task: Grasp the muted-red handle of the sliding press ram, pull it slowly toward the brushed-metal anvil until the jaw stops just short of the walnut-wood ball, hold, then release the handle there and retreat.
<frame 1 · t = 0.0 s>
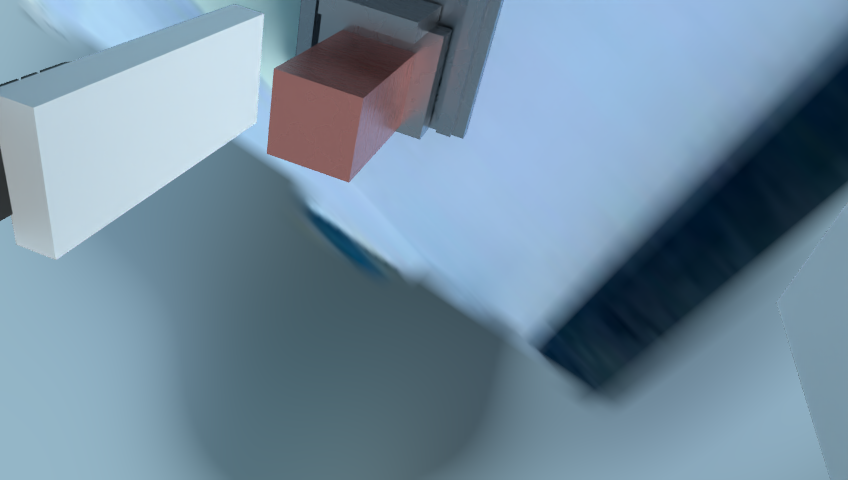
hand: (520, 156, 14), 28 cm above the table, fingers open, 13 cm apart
ram: (354, 78, 37), point 7 cm above the table, slide at 0.0 cm
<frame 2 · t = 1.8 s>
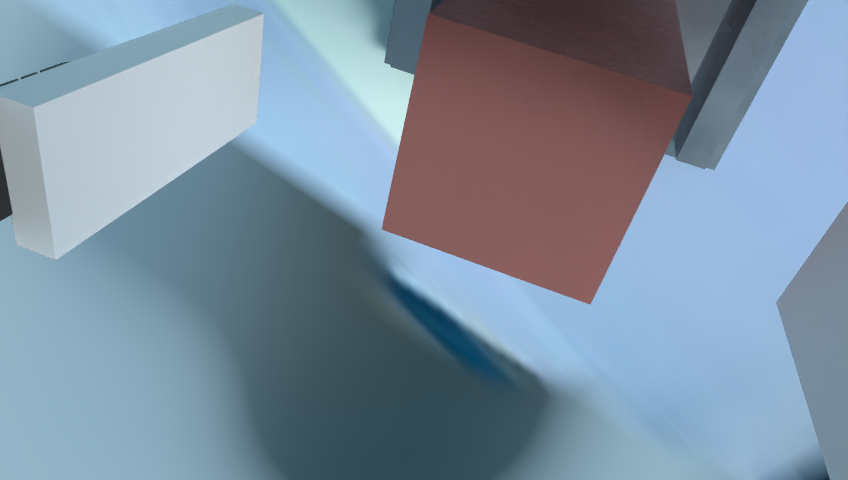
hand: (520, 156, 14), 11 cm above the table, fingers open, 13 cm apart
ram: (563, 49, 17), point 7 cm above the table, slide at 0.0 cm
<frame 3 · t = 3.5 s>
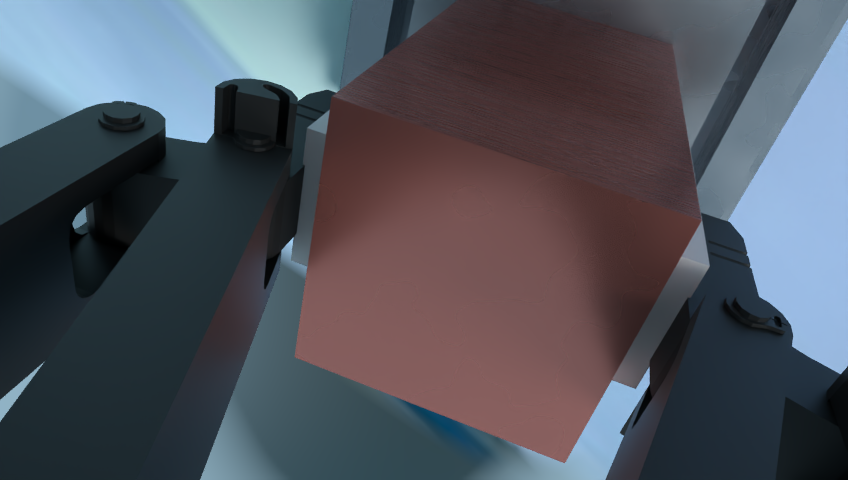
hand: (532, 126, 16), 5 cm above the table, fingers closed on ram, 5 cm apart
ram: (535, 113, 13), point 7 cm above the table, slide at 0.0 cm, touching gripper
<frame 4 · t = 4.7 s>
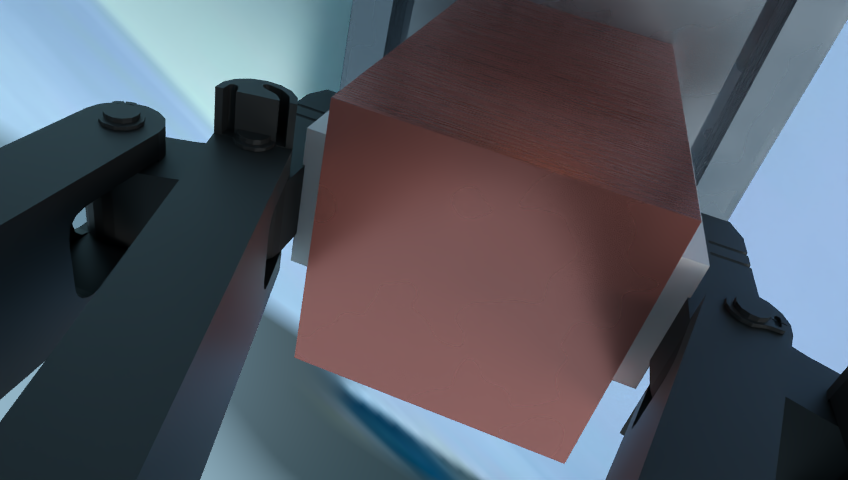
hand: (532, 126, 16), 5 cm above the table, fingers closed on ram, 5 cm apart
ram: (535, 113, 13), point 7 cm above the table, slide at 3.5 cm, touching gripper
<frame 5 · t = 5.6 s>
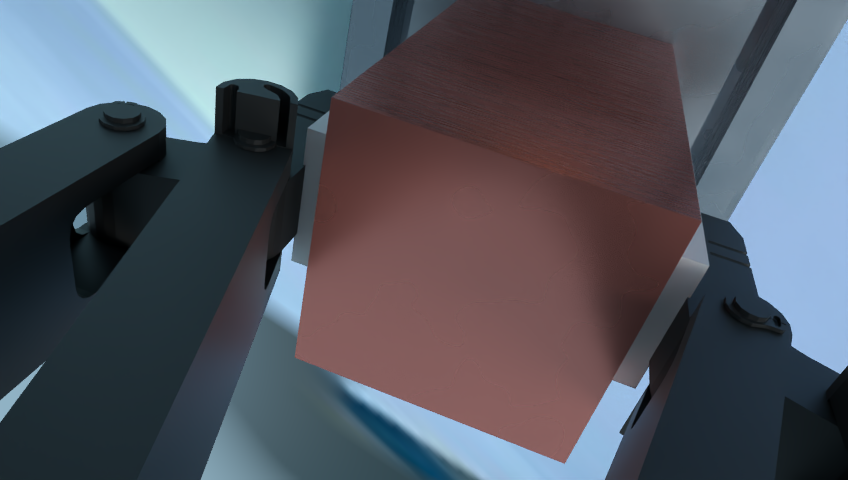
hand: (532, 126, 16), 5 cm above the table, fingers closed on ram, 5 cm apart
ram: (535, 113, 13), point 7 cm above the table, slide at 3.6 cm, touching gripper
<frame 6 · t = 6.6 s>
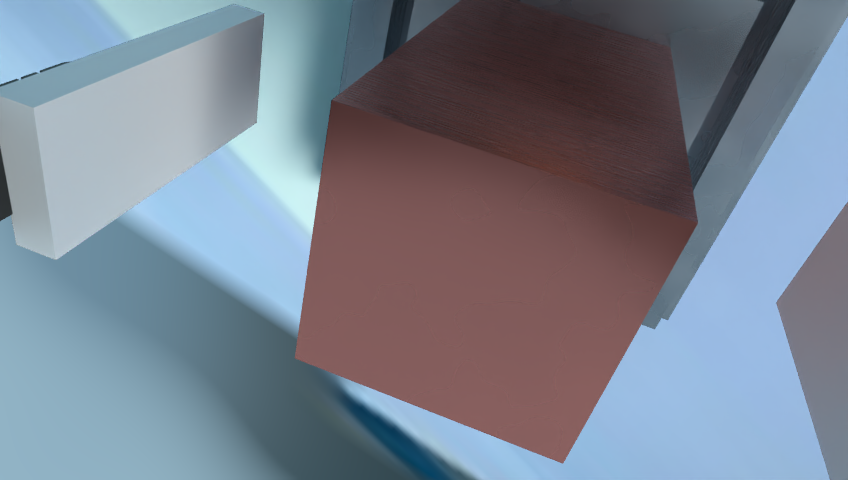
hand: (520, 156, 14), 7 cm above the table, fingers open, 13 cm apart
ram: (533, 116, 13), point 7 cm above the table, slide at 3.6 cm
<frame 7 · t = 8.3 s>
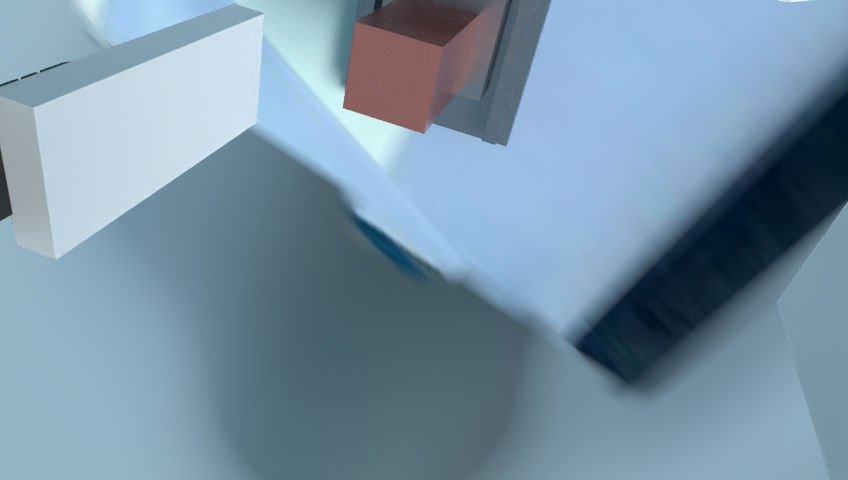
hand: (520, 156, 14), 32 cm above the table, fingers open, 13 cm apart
ram: (422, 37, 39), point 7 cm above the table, slide at 3.6 cm
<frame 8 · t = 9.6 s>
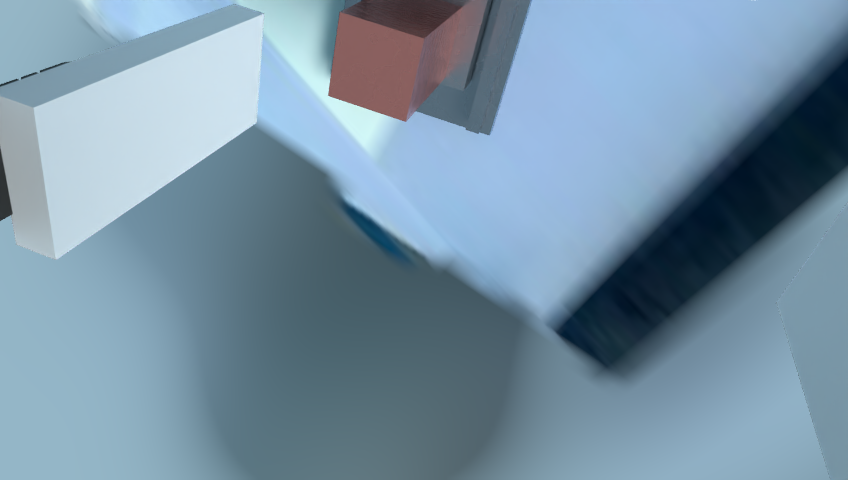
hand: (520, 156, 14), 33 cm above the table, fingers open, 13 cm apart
ram: (407, 28, 40), point 7 cm above the table, slide at 3.6 cm
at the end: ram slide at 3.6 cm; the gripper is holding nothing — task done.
